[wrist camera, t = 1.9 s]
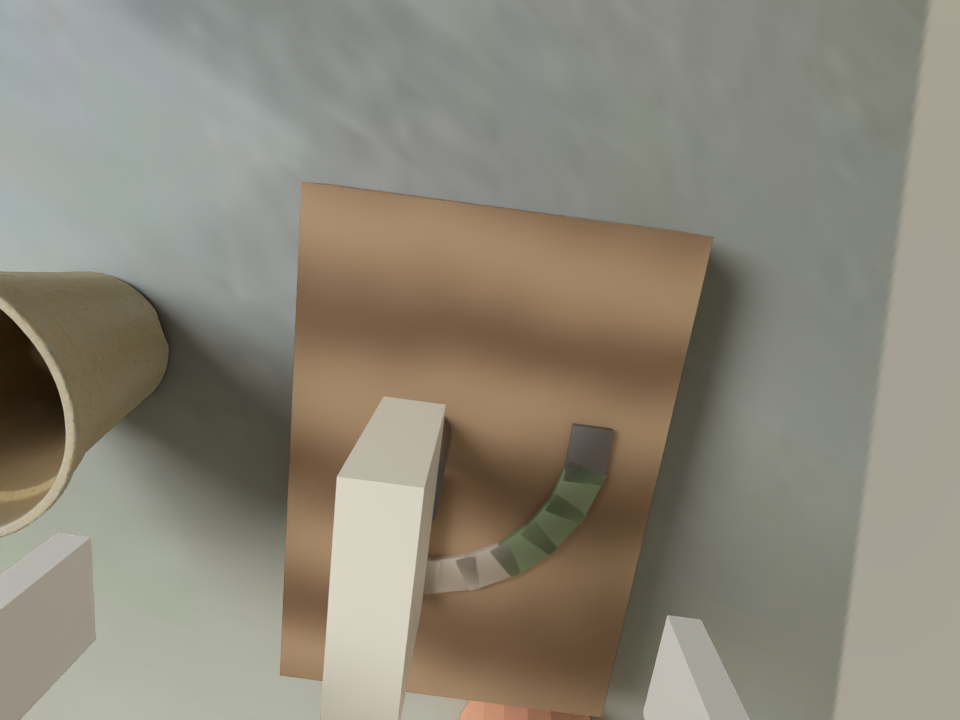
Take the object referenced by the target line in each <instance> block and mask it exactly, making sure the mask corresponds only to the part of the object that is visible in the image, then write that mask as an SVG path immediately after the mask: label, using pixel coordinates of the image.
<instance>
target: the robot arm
mask: <svg viewBox="0 0 960 720" xmlns="http://www.w3.org/2000/svg"><path fill="white" fill-rule="evenodd" d="M95 639H96V635H95V614H94V593H93V572H92V552H91V537H86V536H78V535H71V534H64V533H56V534H55V535H53V536H52V537H51V538H49V539H48V540H46V541H45V542H44V543H42V544H41V545H40V546H38V547H37V548H36V549H34V550H33V551H31V552H30V553H29V554H27V555H26V556H25V557H23V558H22V559H21V560H19V561H18V562H16V563H15V564H14V565H12V566H11V567H10V568H8V569H7V570H6V571H4V572H3V573H1V574H0V720H20V719H21V718H22V717H23V716H24V715H25V714H26V713H27V712H28V711H29V710H30V709H31V708H32V707H33V706H34V704H35V703H36V702H37V701H38V700H39V699H40V698H41V697H42V696H43V695H44V694H45V693H46V692H47V691H48V690H49V688H50V687H51V686H52V685H53V684H54V683H55V682H56V681H57V680H58V679H59V678H60V677H61V676H62V675H63V674H64V672H65V671H66V670H67V669H68V668H69V667H70V666H71V665H72V664H73V663H74V662H75V661H76V660H77V659H78V658H79V656H80V655H81V654H82V653H83V652H84V651H85V650H86V649H87V648H88V647H89V646H90V645H91V644H92V643H93V642H94V641H95ZM643 716H644V719H645V720H750V719H749V717H748V715H747V713H746V711H745V709H744V707H743V705H742V703H741V701H740V699H739V697H738V695H737V693H736V691H735V688H734V686H733V684H732V682H731V680H730V678H729V676H728V674H727V672H726V670H725V668H724V666H723V664H722V662H721V660H720V658H719V656H718V653H717V651H716V649H715V647H714V645H713V643H712V641H711V639H710V637H709V635H708V633H707V631H706V629H705V627H704V625H703V623H702V621H701V620H700V619H693V618H686V617H678V616H671V615H667V619H666V623H665V627H664V631H663V635H662V639H661V643H660V647H659V651H658V655H657V659H656V663H655V667H654V671H653V675H652V679H651V683H650V687H649V691H648V695H647V699H646V703H645V707H644V711H643Z"/></svg>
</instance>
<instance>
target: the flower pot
mask: <svg viewBox="0 0 960 720" xmlns="http://www.w3.org/2000/svg"><path fill="white" fill-rule="evenodd" d="M168 355H169V346H168V343H167V341H166V339H165V336H164V334H163V331H162V328H161V325H160V322H159V319H158V315H157V312H156V311H155V309H154V308H153V307H152V305H151V304H150V303H149V302H148V301H147V300H146V299H145V298H144V297H143V296H142V295H141V294H140V293H139V292H138V291H137V290H135V289H134V288H132V287H131V286H130V285H128V284H126V283H125V282H123V281H120V280H118V279H116V278H114V277H111V276H108V275H104V274H101V273H95V272H0V537H3V536H7V535H9V534H12V533H15V532H17V531H19V530H21V529H23V528H24V527H26V526H28V525H29V524H31V523H33V522H34V521H35V520H36V519H38V518H39V517H41V516H42V515H43V514H44V513H45V512H46V511H47V510H48V509H50V508H51V507H52V506H53V504H54V503H55V502H56V501H57V500H58V499H59V498H60V496H61V495H62V494H63V492H64V490H65V489H66V487H67V485H68V484H69V482H70V479H71V477H72V475H73V472H74V471H75V469H76V468H77V466H78V465H79V463H80V462H81V460H82V458H83V456H84V454H85V453H86V452H87V451H88V450H89V449H90V448H91V447H92V446H93V445H94V444H95V443H96V442H98V441H99V440H100V439H101V438H102V437H103V436H104V435H105V434H106V433H107V432H108V431H110V430H111V429H112V428H113V427H114V426H115V425H116V424H117V423H118V422H119V421H121V420H122V419H123V418H124V417H125V416H126V415H127V414H128V413H130V412H131V411H132V410H133V409H134V408H135V407H136V406H138V405H139V404H140V403H141V402H142V401H143V400H144V399H145V398H147V397H148V396H149V395H150V394H151V393H152V392H153V391H154V390H155V389H156V388H157V386H158V385H159V384H160V382H161V380H162V378H163V376H164V374H165V371H166V368H167V363H168Z"/></svg>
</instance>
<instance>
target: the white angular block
mask: <svg viewBox="0 0 960 720" xmlns="http://www.w3.org/2000/svg"><path fill="white" fill-rule="evenodd" d="M445 408H446V405H445V404H438V403H430V402H423V401H415V400H408V399H400V398H393V397H385V396H384V397H383V398H382V400H381V402H380V404H379V405H378V407H377V409H376V410H375V412H374V414H373V416H372V417H371V419H370V421H369V422H368V424H367V426H366V428H365V429H364V431H363V433H362V434H361V436H360V438H359V439H358V441H357V443H356V445H355V446H354V448H353V450H352V451H351V453H350V455H349V457H348V458H347V460H346V462H345V463H344V465H343V467H342V469H341V470H340V472H339V474H338V475H337V482H336V496H335V511H334V525H333V540H332V554H331V569H330V583H329V597H328V612H327V626H326V641H325V655H324V670H323V684H322V699H321V713H320V720H400V718H401V713H402V708H403V703H404V697H405V692H406V687H407V682H408V676H409V671H410V666H411V660H412V655H413V650H414V645H415V639H416V634H417V629H418V624H419V618H420V613H421V607H422V599H423V591H424V582H425V574H426V566H427V557H428V549H429V541H430V533H431V525H432V523H433V521H434V519H435V516H436V511H437V506H438V501H439V496H440V491H441V487H442V482H443V477H444V472H445V467H446V462H447V457H448V452H449V447H450V442H451V435H452V434H451V428H450V425H449V423H448V422H447V420H446V419H445V418H444V417H445Z"/></svg>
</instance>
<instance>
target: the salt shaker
mask: <svg viewBox="0 0 960 720" xmlns="http://www.w3.org/2000/svg"><path fill="white" fill-rule="evenodd" d="M459 720H591V718H590V716H586V715H578V714H570V713H563V712H555V711H548V710H540V709H532V708H525V707H517V706H510V705H502V704H494V703H487V702H479V701H471V700H470V701H469V702H468V704H467V706H466V707H465V709H464V710H463V712H462V714H461V715H460V718H459Z"/></svg>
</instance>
